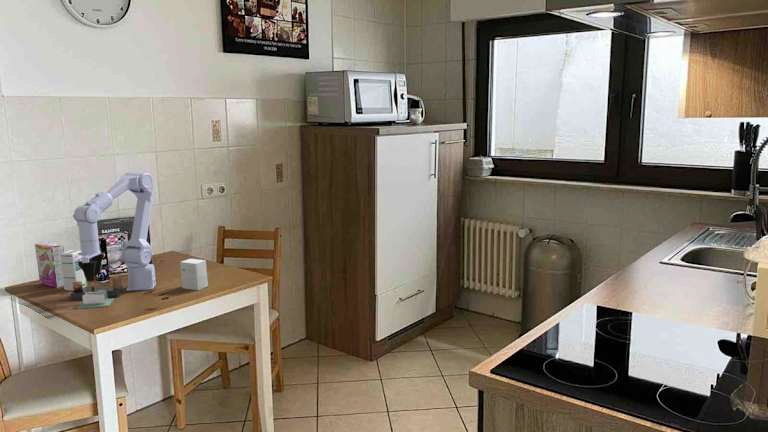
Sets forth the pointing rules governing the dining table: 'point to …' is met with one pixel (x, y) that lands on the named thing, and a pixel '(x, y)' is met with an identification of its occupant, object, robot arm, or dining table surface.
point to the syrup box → (72, 269)
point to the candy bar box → (49, 264)
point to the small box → (194, 274)
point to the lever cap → (95, 298)
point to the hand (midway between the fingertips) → (93, 277)
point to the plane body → (111, 290)
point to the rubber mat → (96, 305)
